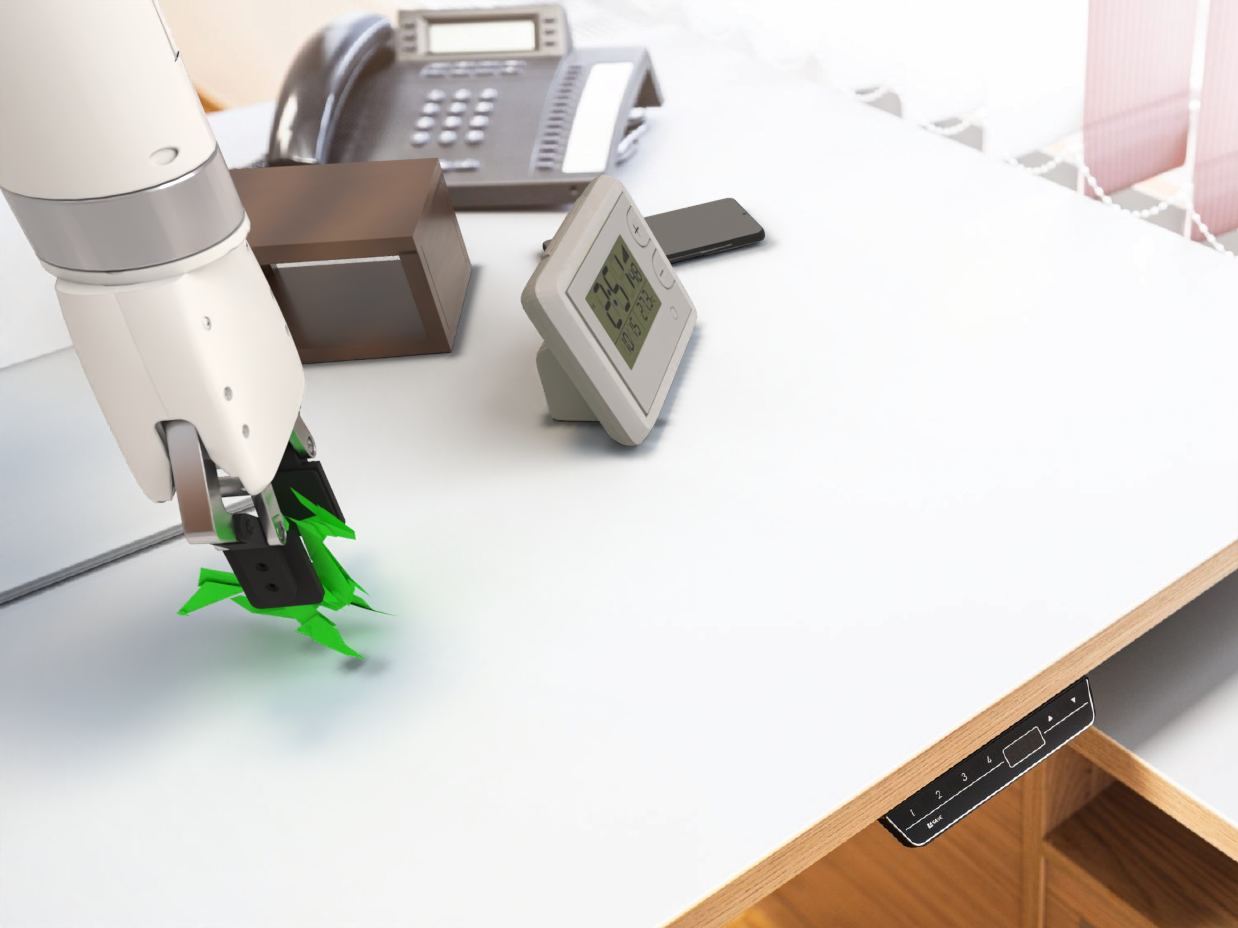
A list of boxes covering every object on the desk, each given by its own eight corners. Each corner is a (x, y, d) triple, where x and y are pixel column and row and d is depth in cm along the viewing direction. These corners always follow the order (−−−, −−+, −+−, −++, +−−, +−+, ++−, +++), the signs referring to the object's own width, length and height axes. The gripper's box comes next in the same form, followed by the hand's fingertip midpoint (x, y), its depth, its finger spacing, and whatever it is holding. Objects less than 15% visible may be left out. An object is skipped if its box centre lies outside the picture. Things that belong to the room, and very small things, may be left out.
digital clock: (641, 463, 79) (601, 297, 71) (502, 443, 80) (448, 278, 73) (743, 329, 90) (717, 175, 83) (619, 314, 91) (583, 160, 84)
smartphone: (539, 240, 97) (732, 195, 102) (542, 252, 98) (734, 206, 103) (567, 279, 93) (767, 230, 98) (570, 291, 93) (768, 242, 99)
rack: (224, 370, 85) (167, 252, 80) (265, 282, 94) (217, 169, 88) (451, 352, 87) (412, 236, 82) (472, 267, 96) (438, 157, 90)
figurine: (404, 689, 64) (286, 549, 57) (217, 671, 67) (85, 537, 61) (472, 597, 67) (369, 455, 61) (291, 585, 71) (175, 450, 64)
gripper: (93, 123, 57) (258, 472, 70) (-60, 320, 45) (172, 695, 58) (279, 116, 58) (408, 460, 71) (177, 306, 47) (353, 677, 60)
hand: (300, 563), depth 65 cm, fingers closed on figurine, 4 cm apart
